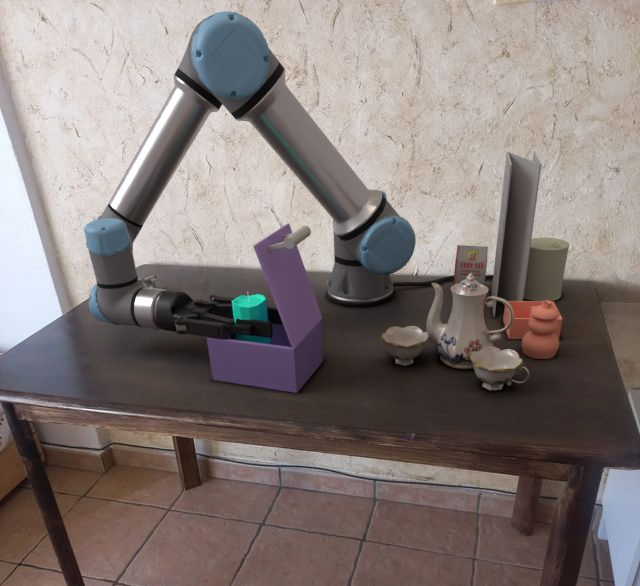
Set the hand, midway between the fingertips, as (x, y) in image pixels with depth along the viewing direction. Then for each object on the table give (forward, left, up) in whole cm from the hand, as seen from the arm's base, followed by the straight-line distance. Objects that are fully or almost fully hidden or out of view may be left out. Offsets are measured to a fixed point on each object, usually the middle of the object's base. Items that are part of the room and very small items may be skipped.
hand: (278, 323), depth 108 cm
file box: (+2, -2, -10) cm, 10 cm away
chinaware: (-31, +7, -10) cm, 33 cm away
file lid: (-2, +1, +7) cm, 8 cm away
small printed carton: (-50, -28, -10) cm, 58 cm away
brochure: (-53, -16, -10) cm, 56 cm away
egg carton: (+27, -53, -10) cm, 60 cm away
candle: (+4, -3, -7) cm, 9 cm away
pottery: (-50, +2, -10) cm, 51 cm away
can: (-63, -19, -10) cm, 66 cm away
